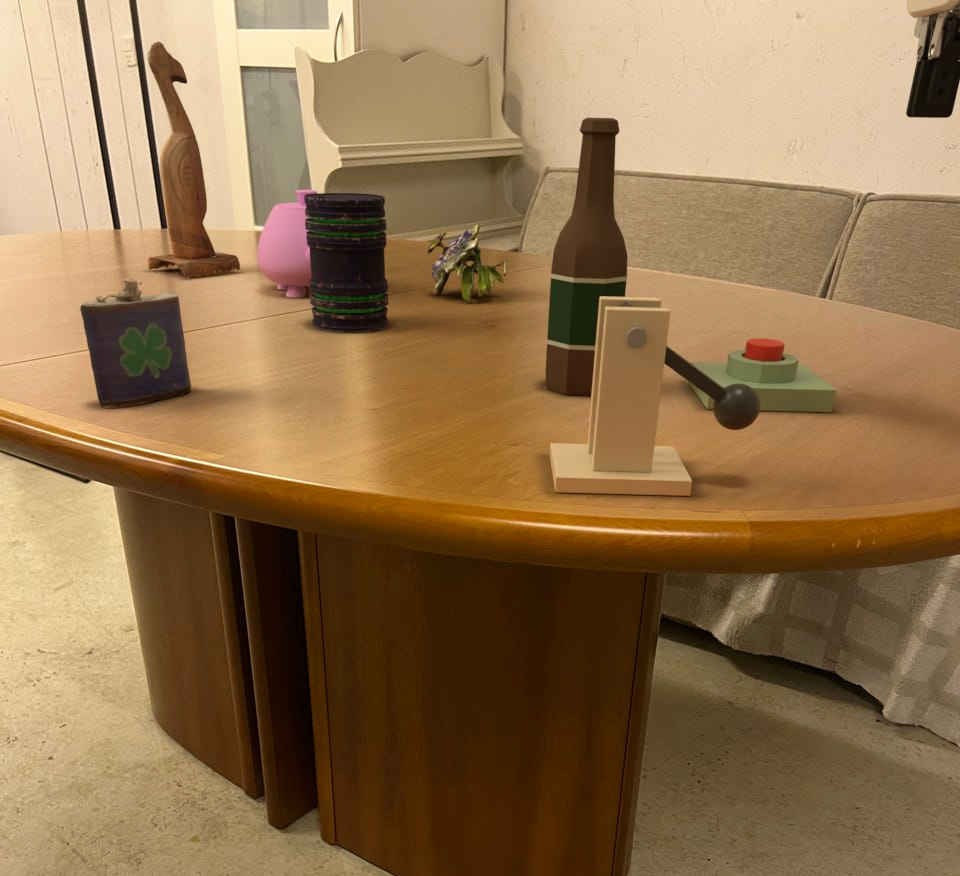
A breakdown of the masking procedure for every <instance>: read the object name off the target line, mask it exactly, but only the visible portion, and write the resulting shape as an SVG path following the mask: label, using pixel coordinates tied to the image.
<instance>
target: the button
mask: <svg viewBox="0 0 960 876" xmlns="http://www.w3.org/2000/svg"><path fill="white" fill-rule="evenodd" d="M785 345H786V344H785V343H784V342H783V341H781V340H777V339H771V338H758V337H757V338H750V339H748V340H746V344H745V348H744V349H745V355H744V358H747V359H751V360H757V361H768V362H776V361H782V357H783V353H785V352H784V350H785Z"/></svg>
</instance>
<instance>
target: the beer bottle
mask: <svg viewBox="0 0 960 876" xmlns="http://www.w3.org/2000/svg"><path fill="white" fill-rule="evenodd" d="M580 124H581V125H580V127H579V132H580V133H581V134H582V138H581V144H580V145H581V147H580V154H579V163H578V169H577V170H578V171H577V180H576V187H575V194H574V195H575V197H574V200H573V205H572V210H571V214H570V216H569V218H568V219H567V221H566V223H565V224H564V226H563V227H562V229H561V230H560V231H559V235H558V237H557V240H556V242H555V245H554V248H553V253H552V260H551V271H550V285H549V286H550V287H549V303H548V304H549V305H548V322H547V323H548V324H547V339H546V353H545V355H546V356H545V387H546V389H547V390H549V391H552V392H555V393H558V394H562V395H565V396H582V397H591V394H592V382H593V370H594V358H595V346H596V334H597V322H598V310H599V298H600V297H601V296H607V297H626V290H627V279H628V252H627V251H628V250H627V247H626V241H625V238H624V235H623V233H622V231H621V228H620V226H619V224H618V222H617V220H616V217H615V215H616V214H615V201H614V200H615V199H614V198H615V197H614V196H615V172H616V171H615V169H616V142H617V141H616V140H617V139H616V138H617V137H616V136H617V135H618V134H619V133H620V126H619V121H618V120H617V119H616V118H613V117H586V118H585V117H584V119H582V121H581V123H580Z"/></svg>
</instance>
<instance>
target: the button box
mask: <svg viewBox="0 0 960 876" xmlns="http://www.w3.org/2000/svg"><path fill="white" fill-rule="evenodd" d="M745 349H746V348H743V349H735V350H732V351H731V352H729V353H728V355H727V361H726V362H723V361H721V362H720V361H719V362H718V361H690V363H691V364H692V365H694V366H695V367H696V368H698V369H699V370H700V371H702V372H703V373H704V374H706V375H707V376H709V377H710V378H711V379H713V380H714V381H715V382H717V383H718V384H719V385H721V386H722V387H723V388H725V387H726V386H728V385H731V384H735V383H742V384H746V385H748V386H750V387H752V388H753V389H754V390H755V391H756V392H757V394H758V396H759V399H760V411H762V412H763V411H764V412H796V413H797V412H798V413H800V412H801V413H832V412H833V408H834V404H835V403H834V402H835V398H836V393H837V389H836V388H834V386H832V385H831V384H830V383H829V382H827V381H826V380H825V379H824V378H822V377H821V376H820V375H819V374H817V373H816V372H815V371H814V370H812V368H810V367H809V366H808V365H807V364H799V361H800V359H799V358H797V356H795V355H793V354H790V353H786V352H783V357H782V361H776V362H768V361H757V360H751V359H747V358H744V355H745ZM687 383H688V385H689V386H690V387H691V389H692V390H693V392H694V393H695V394H696V396H697V397H698V399H699V400H700V401H701V403H702V404H703V406H704V407H705V409H706V410H713V405H714V401H715V400H714V399H712V398H711V397H709V396H708V395H707V394H705V393H704V392H703V391H701V390H700V389H699V388H697V387H696V386H694V385H693V384H692V383H690V382H689V381H688V380H687Z"/></svg>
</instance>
